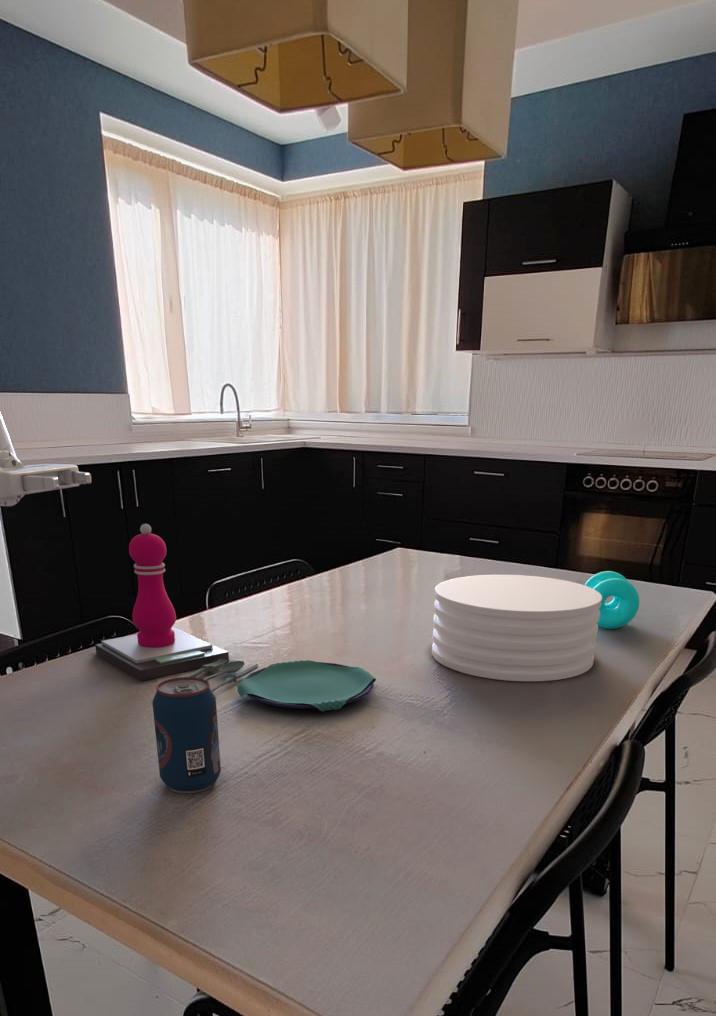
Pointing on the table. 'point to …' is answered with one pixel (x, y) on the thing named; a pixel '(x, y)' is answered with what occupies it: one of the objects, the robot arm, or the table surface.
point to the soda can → (187, 734)
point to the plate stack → (515, 627)
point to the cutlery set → (297, 683)
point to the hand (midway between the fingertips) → (73, 480)
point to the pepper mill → (151, 591)
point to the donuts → (615, 599)
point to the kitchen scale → (159, 655)
